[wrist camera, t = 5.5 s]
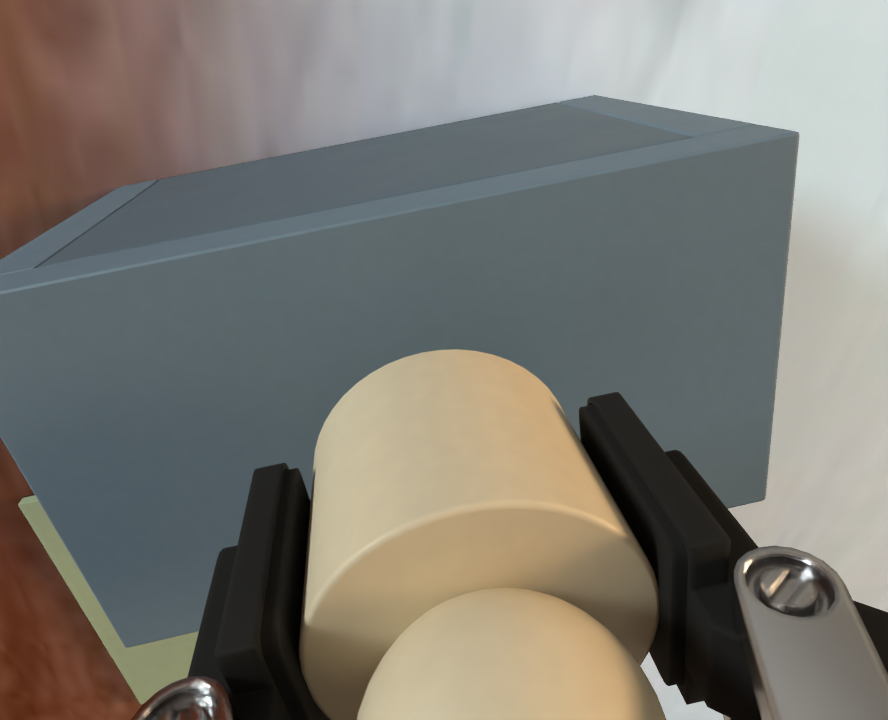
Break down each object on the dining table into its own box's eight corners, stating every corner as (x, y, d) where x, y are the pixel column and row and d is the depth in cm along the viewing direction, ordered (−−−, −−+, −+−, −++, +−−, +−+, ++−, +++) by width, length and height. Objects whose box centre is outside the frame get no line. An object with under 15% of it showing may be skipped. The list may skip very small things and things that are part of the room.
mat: (462, 401, 29) (464, 407, 28) (499, 612, 35) (501, 618, 35) (22, 497, 28) (17, 504, 27) (142, 696, 34) (140, 704, 34)
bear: (559, 321, 12) (891, 774, 5) (577, 549, 14) (802, 1053, 7) (281, 379, 11) (170, 951, 4) (354, 598, 14) (359, 1170, 7)
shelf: (595, 94, 24) (801, 131, 13) (607, 331, 28) (766, 500, 18) (118, 186, 23) (-79, 306, 12) (209, 416, 27) (124, 649, 17)
